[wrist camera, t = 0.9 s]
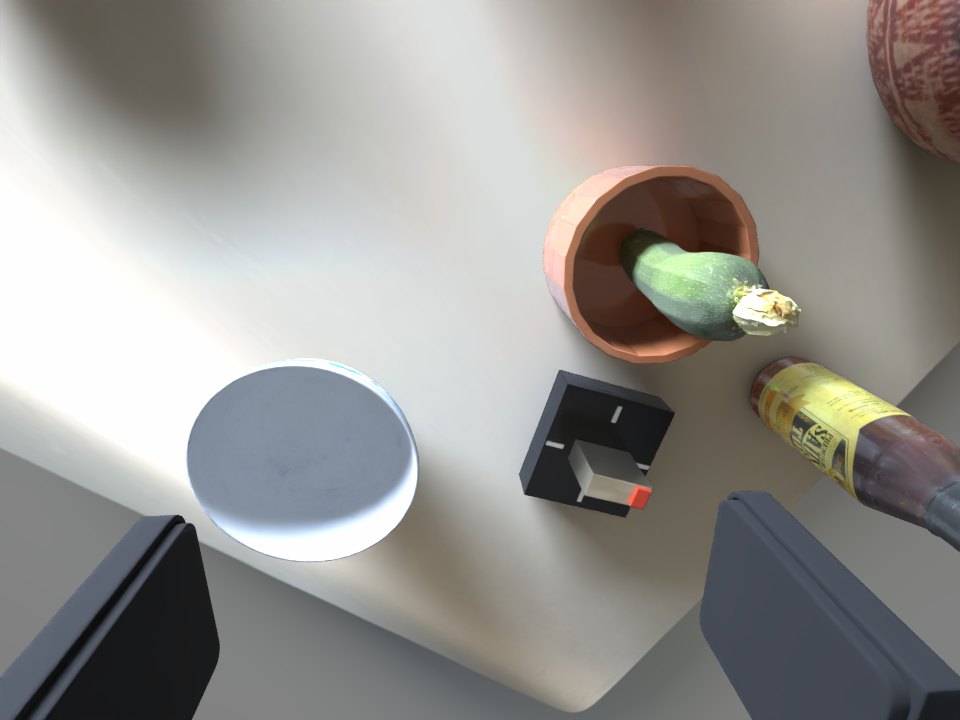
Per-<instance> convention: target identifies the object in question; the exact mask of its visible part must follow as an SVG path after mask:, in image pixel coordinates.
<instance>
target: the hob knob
mask: <svg viewBox="0 0 960 720" xmlns="http://www.w3.org/2000/svg"><path fill="white" fill-rule="evenodd" d="M568 459H569V462H570V464H571V466H572V469H573V471H574V473H575V475H576V478H577V480H578V482H579V485H580V487H581V489H582V491H583V494H584V495H585V496H589V497H594V498H598V499H602V500H607V501H611V502H615V503H619V504H624V505H628V506H631V507H636V508H640V509H643V508H644V506H645V504H646V502H647V500H648V498H649V496H650V494H651V492H652V490H653V488H652V486H651V485H650V483H649V482H648V480H647V479H646V477H645V476H644V474H643V473H642V471H641V470H640V468H639V467H638V465H637V464H636V462H635V461H634V459H633V457H632V456H631V454H630V453H629V452H625V451H621V450H617V449H613V448H609V447H605V446H601V445H598V444H594V443H590V442H586V441H582V440H578V439H576V440H575V442H574V445H573V447H572V450H571V452H570V455H569V457H568Z"/></svg>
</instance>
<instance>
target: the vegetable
mask: <svg viewBox="0 0 960 720" xmlns="http://www.w3.org/2000/svg"><path fill="white" fill-rule="evenodd" d="M619 261H620V264H621V265H622V266H623V269H624V271H625V273H626V274H627V276H628V278H629V279H630V281H631V282H632V283H633V284H634V285H635V286H636V287H637V288H638V289H639V290H640V291H641V292H642V293H643V294H644V295H645V296H646V297H647V298H648V299H649V300H650V301H652V302H653V304H654V305H655V307H656V308H657V309H658V310H659V311H660V312H661V313H662V314H664V315H665V316H666V317H667V318H668V319H669V320H670V321H671V322H673V323H674V324H675V325H676V326H678V327H680V328H681V329H683V330H684V331H686V332H688V333H689V334H692V335H694V336H696V337H699V338H702V339H705V340H711V341H733V340H736V339H739V338H741V337H743V336H744V335H746V334H747V333H749V334H754V335H771V334H776V333H778V332H781V331H783V332H785V333H786V331H787V330H788V326H790V325H791V326H792V327H797V326H798V315H799V313H800V312H801V309H798V307H797V305H796V304H795V302H793V301H792V300H791V299H790V298H786V297H785V296H782V295H780V294H779V293H778V292H777V291H775V290H769V286H768V284H767V281H766V279H765V277H764V276H763V274H762V273H761V271H760V270H759V269H758V268H757V267H756V266H755V265H754V264H753V263H752V262H751V261H749V260H747V259H746V258H743V257H739V256H736V255H730V254H725V253H716V252H700V253H688V252H686V251H684V250H683V249H681V248H680V247H679V246H678V245H677V244H676V243H674V242H673V241H671V240H669V239H667V238H666V237H664V236H662V235H661V234H658V233H657V232H655V231H651V230H649V231H647V230H646V229H644V228H640V229H638V230H636V231H635V232H634V231H633V232H632V233H631V234H630V235H629V236H625V237H623V242H622V243H620V244H619Z"/></svg>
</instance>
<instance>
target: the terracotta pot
mask: <svg viewBox="0 0 960 720" xmlns="http://www.w3.org/2000/svg"><path fill="white" fill-rule="evenodd" d="M640 228H644V229H646V230H647V231H649V230H651V231H655V232H657V233H658V234H661V235H662V236H664V237H666V238H667V239H669V240H671V241H673V242H674V243H676V244H677V245H678V246H679V247H680V248H681V249H683V250H684V251H686V252H688V253H700V252H716V253H725V254H730V255H736V256H739V257H743V258H746V259H747V260H749V261H751V262H752V263H753V264H754V265H755V266H756V267H757V264H758V258H759V247H758V240H757V232H756V225H755V222H754V220H753V218H752V216H751V214H750V212H749V210H748V209H747V207H746V205H745V203H744V201H743V199H742V197H741V196H740V195H739V194H738V193H737V192H736V191H735V190H733V189H732V188H731V187H730V186H729V185H728V184H727V183H725V182H724V181H723V180H722V179H721V178H720V177H718V176H716V175H714V174H711V173H708V172H705V171H702V170H700V169H697V168H694V167H691V166H618V167H615V168H612V169H609V170H606V171H603V172H601V173H599V174H596V175H594V176H592V177H591V178H589V179H587V180H586V181H584V182H583V183H581V184H580V185H579V186H578V187H577V188H575V189H574V190H573V191H572V192H571V193H570V194H569V195H568V196H567V197H566V198H565V200H564V201H563V202H562V204H561V205H560V206H559V208H558V209H557V211H556V213H555V215H554V216H553V218H552V221H551V223H550V225H549V228H548V231H547V235H546V238H545V243H544V250H543V265H544V273H545V277H546V281H547V284H548V287H549V290H550V293H551V295H552V296H553V298H554V299H555V301H556V302H557V303H558V305H559V306H560V308H561V309H562V310H563V312H564V313H565V314H566V315H567V317H568V318H569V319H570V320H571V321H572V323H573V324H574V325H575V326H576V327H577V329H578V330H579V331H580V332H581V333H582V334H583V336H584V337H585V338H586V339H587V340H588V341H589V342H590V343H592V344H593V345H595V346H596V347H597V348H599V349H600V350H602V351H603V352H605V353H606V354H607V355H609V356H611V357H614V358H618V359H621V360H625V361H628V362H632V363H635V364H650V363H667V362H670V361H673V360H676V359H679V358H682V357H685V356H688V355H691V354H694V353H695V352H697V351H698V350H700V349H701V348H703V347H704V346H706V345H707V344H709V343H710V342H712V341H711V340H705V339H702V338H699V337H696V336H694V335H692V334H689V333H688V332H686V331H684V330H683V329H681V328H680V327H678V326H676V325H675V324H674V323H673V322H671V321H670V320H669V319H668V318H667V317H666V316H665V315H664V314H662V313H661V312H660V311H659V310H658V309H657V308H656V307H655V305H654V304H653V302H652V301H650V300H649V299H648V298H647V297H646V296H645V295H644V294H643V293H642V292H641V291H640V290H639V289H638V288H637V287H636V286H635V285H634V284H633V283H632V282H631V281H630V279H629V278H628V276H627V274H626V273H625V271H624V269H623V266H622V265H621V264H620V261H619V244H620V243H622V242H623V237H625V236H629V235H630V234H631V233H632V232H633V231H634V232H635V231H636V230H638V229H640Z"/></svg>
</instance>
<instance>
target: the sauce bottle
mask: <svg viewBox="0 0 960 720" xmlns="http://www.w3.org/2000/svg"><path fill="white" fill-rule="evenodd" d="M751 405H752V406H753V410H754V412H755V413H756V414H757V415H758V416H759V417H760V418H761V419H762V421H763V422H764V424H765V425H766V426H767V427H769V428H770V429H771V430H772V431H773V432H775V433H776V434H777V435H778V436H780V437H781V438H782V439H783V440H784V441H786V442H787V443H788V444H789V445H791V446H792V447H793V448H794V449H796V450H797V451H798V452H799V453H800V454H802V455H803V456H804V457H805V458H806V459H808V460H809V461H810V462H812V463H813V464H814V465H815V466H816V467H818V468H819V469H820V470H821V471H822V472H823V473H825V474H826V475H827V476H829V477H830V478H831V479H832V480H834V481H835V482H836V483H837V484H838V485H840V486H841V487H842V488H843V489H844V490H846V491H847V492H848V493H849V494H851V495H852V496H853V497H855V498H856V499H857V500H858V501H859V502H861V503H862V504H863V505H865V506H867V507H870V508H873V509H875V510H878V511H881V512H883V513H886V514H889V515H891V516H894V517H896V518H899V519H902V520H904V521H907V522H910V523H913V524H915V525H918V526H921V527H923V528H926V529H928V530H929V531H930V532H931V533H932V534H934V535H936V536H939V537H941V538H942V539H943V540H945V541H946V542H948V543H949V544H950V545H952V546H953V547H954V548H955V549H956V550H957V551H959V552H960V448H959V447H958V446H956V445H955V444H954V443H953V442H952V441H951V440H949V439H948V438H946V437H945V436H943V435H941V434H940V433H938V432H936V431H934V430H932V429H930V428H929V427H927V426H925V425H923V424H922V423H921V422H920V421H919V420H918V419H916V418H915V417H912V416H911V415H909V414H907V413H905V412H904V411H902V410H900V409H898V408H897V407H895V406H893V405H891V404H889V403H887V402H886V401H884V400H882V399H880V398H878V397H877V396H875V395H873V394H871V393H869V392H868V391H866V390H864V389H862V388H861V387H859V386H857V385H855V384H853V383H852V382H850V381H848V380H846V379H844V378H843V377H841V376H839V375H837V374H835V373H833V372H832V371H830V370H828V369H826V368H824V367H822V366H820V365H818V364H815V363H811V362H809V361H806V360H803V359H801V358H796V357H790V358H783V359H781V360H778V361H775V362H774V363H772V364H770V365H769V366H767V367H766V368H765V369H763V370H762V371H761V372H760V373H759V375H758V376H757V378H756V379H755V381H754V384H753V386H752V391H751Z"/></svg>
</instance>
